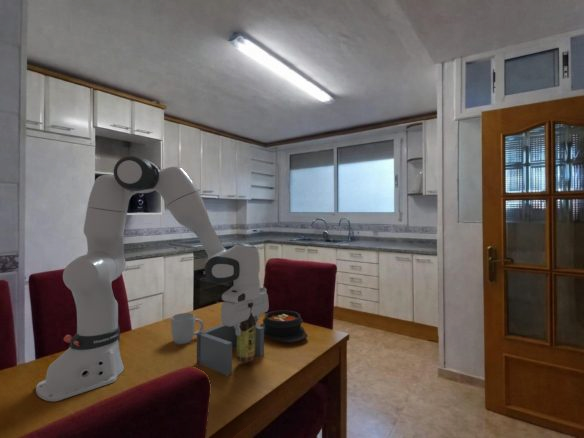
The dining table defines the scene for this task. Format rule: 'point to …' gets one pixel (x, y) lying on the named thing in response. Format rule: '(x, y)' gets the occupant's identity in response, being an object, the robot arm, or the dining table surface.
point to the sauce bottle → (247, 339)
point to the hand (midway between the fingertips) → (246, 331)
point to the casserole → (284, 326)
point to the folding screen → (223, 347)
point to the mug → (184, 327)
